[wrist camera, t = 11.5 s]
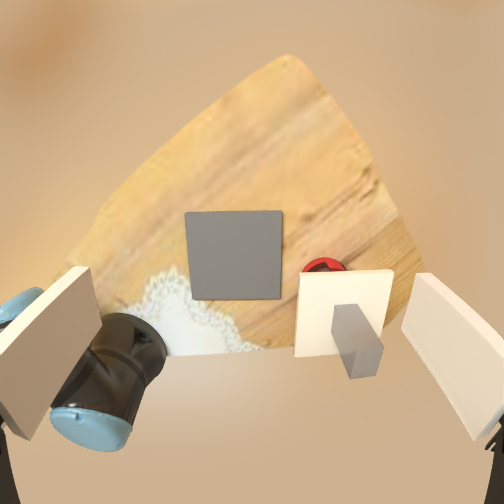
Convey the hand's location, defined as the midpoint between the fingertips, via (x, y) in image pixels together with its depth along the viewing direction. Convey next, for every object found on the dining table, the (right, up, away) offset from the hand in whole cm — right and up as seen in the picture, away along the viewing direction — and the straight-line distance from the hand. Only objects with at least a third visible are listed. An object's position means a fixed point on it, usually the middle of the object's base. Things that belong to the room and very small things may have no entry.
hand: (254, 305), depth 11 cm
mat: (-3, +1, +34) cm, 34 cm away
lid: (+11, -6, +25) cm, 28 cm away
